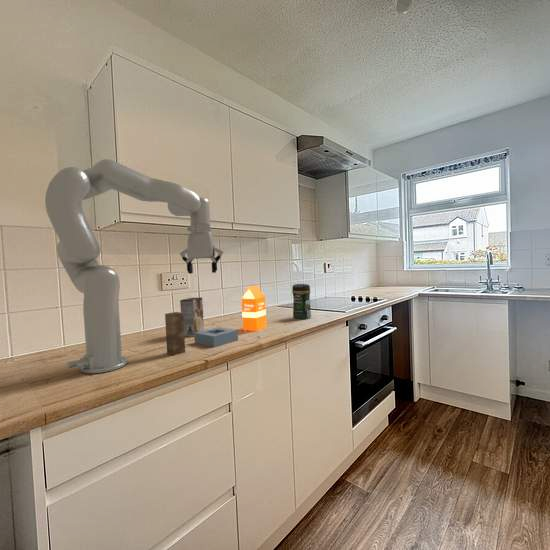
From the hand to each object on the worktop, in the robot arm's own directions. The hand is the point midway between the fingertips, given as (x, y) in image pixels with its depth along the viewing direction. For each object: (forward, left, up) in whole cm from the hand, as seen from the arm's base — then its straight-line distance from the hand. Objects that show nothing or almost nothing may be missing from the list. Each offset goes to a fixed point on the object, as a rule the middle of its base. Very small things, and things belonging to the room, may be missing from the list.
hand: (202, 273), depth 119 cm
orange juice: (+27, -1, -28) cm, 39 cm away
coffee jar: (+60, -5, -28) cm, 67 cm away
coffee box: (+5, +16, -28) cm, 32 cm away
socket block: (+2, -4, -27) cm, 28 cm away
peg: (-16, -4, -27) cm, 32 cm away
